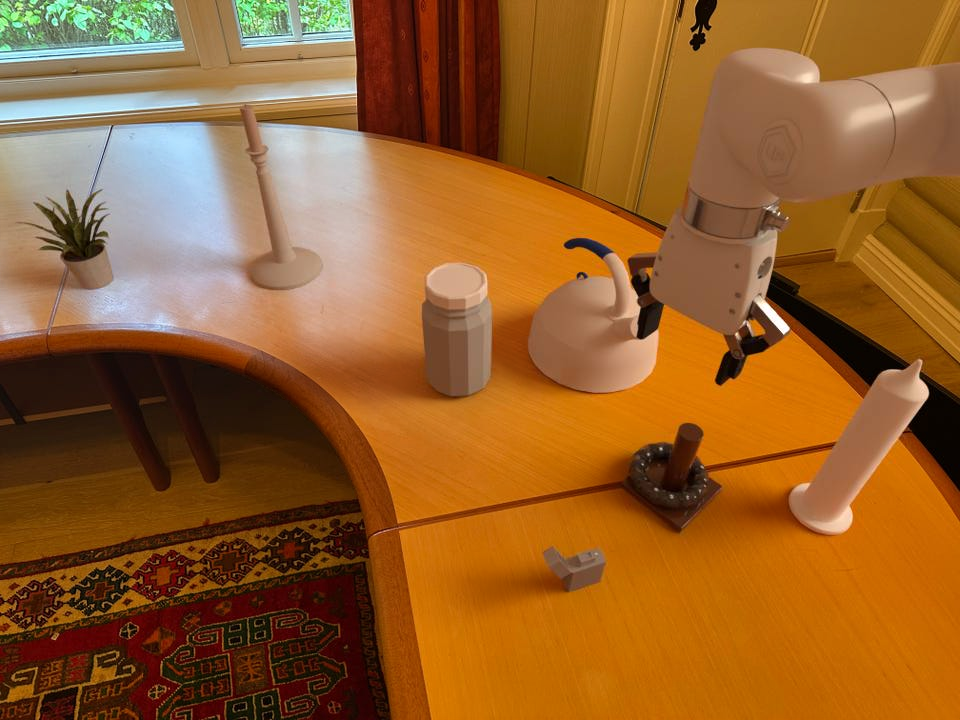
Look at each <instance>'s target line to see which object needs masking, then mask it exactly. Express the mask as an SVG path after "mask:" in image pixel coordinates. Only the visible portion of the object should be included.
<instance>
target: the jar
mask: <svg viewBox="0 0 960 720" xmlns="http://www.w3.org/2000/svg"><path fill="white" fill-rule="evenodd" d="M424 293H425V294H424V295H425V300H424V301H423V302H422V303H421V323H422V325H421V326H422V336H423V350H424V362H425V376H426V381H427V382H428V383H429V385H430V386H431V387H432V389H434V390H435V391H436V392H438V393H440V394H443V395H445V396H448V397H451V398H462V397H463V398H465V397H469V396H471V395H473V394H475V393H477V392H480V391H481V390H483V389H484V388H485V386H487V383H488V382H489V380H490V379H491V377H492V341H493V339H492V338H493V334H492V333H493V329H492V328H493V309H492V302H491V300H490V299H488V277H487V274H486V273H485V271H483V270H482V269H481V268H479V267H478V266H477V265H473V264H469V263H466V262H446V263H443V264H440V265H438V266H436V267H432V269H430V270H429V272H427V273H426V275H425V276H424Z"/></svg>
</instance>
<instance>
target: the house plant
mask: <svg viewBox="0 0 960 720" xmlns="http://www.w3.org/2000/svg"><path fill="white" fill-rule="evenodd" d="M103 190H104V188H102V189H99V190H97V191H94V192H93V193H92V194H90V195H89V196H88V197H87V199H86V200H85V201H84V204H83V207H82V208H81V209H82V210H81V215H80V216H79V215H78V211H79V208H77V207H76V202H75V200H74V199H73V196H72V195H71V192H70V190H69V189H68V188H67V189H66V191H65V199H66V205H67V209H68V213H67V212H66V211H65V209H64V208H63V207H62V206H61V205H60V204H59V203H58V202H56V201H55V200H53V199H52V198H50V197H48V196H45V199H47V200H48V201H49V202H48V201H47V203H49V204H50V205H52V206H53V208H52V209H49V208H48V207H47V206H46V207H45V206H44V205H42V204H41V203H38V202H34V201H32V202H33V205H35V207H36V208H37V209H39V211H40V212H41V213H42V214H43V215H44V216H45V217H46V218H47V219H48V221H49V222H50V223H51V226H52V228H53V229H54V231H53V230H52V229H48V228H46V227H43V226H41V225H38V224H35V223H31V222H25V221H18V222H16V224H23V225H26V226H32V227H35V228H37V229H40V230H42V231H45V232H47V233H49V234H50V235H52V236H53V237H56V238H57V239H60V240H61V241H63V242H61V241H59V240H57V239H56V240H55V239H52V238H48V237H45V236H44V237H43V236H35V239H38V240H41V241H43V242H44V243H47V244H48V245H43V246H41V247H40V248H38V249H37V251H57V252H61V253H60V255H59V256H60V257H59V258H60V260H61V262H62V263H63V264H64V265H65V266H66V268H67V269H68V270H69V271H70V273H71V274H72V275H73V277H74V278H75V279H76V280H77V281H78V283H79V284H80V286H82V288H84V289H86V290H97V289H101V288H104V287H107V286H109V285H110V284H112V282H114V279H115V277H114V273H113V270H112V266H111V262H110V258H109V255H108V251H107V247H106V244H107V245H108V243H107V242H106V240H105V239H103V238H107V239H110V238H109V232H107V231H105V230H102V231H100V232H98V231H99V228H100V226H101V224H102V223H103V222H104V219H105V218H106V217H107V216H109V215H110V214H111V213H110V212H109V213H107V214H105V215H103V216H101V217H100V218H99V219H95V216H96V214H97V213H98V212H100V211H105V210H106V211H107V210H109V208H106V207H101V206H102V205H104V204H106V203H107V202H108V201H103V202H101V203H99V204H97V205H96V206H95V208H94V209H93V210H92V212H91V214H90V215H89V216H90V217H89V218H88V221H87V224H86V220H87V219H86V218H87V213H88V211H89V208H90V205H91V204H92V201H93V200H94V198H95V197H96V196H97V195H98V194H99V193H101V192H102V191H103ZM55 209H57V211H58V212H59V214H61V216H62V217H63V219H64V221H65V223H64V221H62V219H61V218H60V217H59V216H58V215H57V214H56V213H55V212H56V211H55ZM94 225H95V226H94ZM93 226H94V229H93ZM92 229H93V230H92ZM92 231H93V233H92ZM96 238H97V239H96Z"/></svg>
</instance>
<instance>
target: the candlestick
mask: <svg viewBox="0 0 960 720" xmlns="http://www.w3.org/2000/svg"><path fill="white" fill-rule="evenodd" d="M239 112H240V116H241V119H242V123H243V127H244V130H245V135H246V138H247V142H248V147H247V148H245V150H244V152H245V153H246V154H247V155H249V156H250V161H251V163H253V164H254V166H255V167H256V171H255V175H256V177H257V183H258V187H259V192H260V197H261V203H262V207H263V211H264V212H263V213H264V216H265V221H266V225H267V230H268V231H267V232H268V236H269V240H270V246H271V250H270V251H268V252H266V253H264V254H263V255H261V256H259V258H258V259H257V260H255V262H254V263H253V264H252V265H251V268H250V275H251V279H252V281H253V282H254V283H255V284H256V285H257V286H259V287H262V288H264V289H267V290H274V291H285V290H291V289H297V288H299V287H302V286H305V285H307V284H310V283H311V282H313V281H314V280H315V279H316V278H317V277H319V276H320V274H321V272H322V270H323V269H324V268H323V266H324V264H323V259H322V257H321V256H320V255H319V254H318V253H316V252H315V251H313V250H311V249H308V248H305V247H300V246H293V245H292V243H291V239H290V236H289V233H288V229H287V226H286V223H285V220H284V217H283V213H282V210H281V206H280V203H279V200H278V197H277V194H276V191H275V187H274V184H273V180H272V177H271V174H270V169H268V167H267V161H268V159H269V157H268V155H267V152H268V151H269V149H270V148H269V146H267V145H265V144H263V142H262V138H261V133H260V130H259V125H258V122H257V116H256V113H255V110H254V106H253V105H252V104H246V103H244V105H240V106H239Z"/></svg>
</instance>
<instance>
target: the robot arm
mask: <svg viewBox="0 0 960 720" xmlns="http://www.w3.org/2000/svg"><path fill="white" fill-rule="evenodd" d="M820 77H821V74H820V69H819V67H818V65H817V64H816V62H815V61H814V60H813V59H811V58H810V57H808V56H805V55H803V54H801V53H798V52H795V51H791V50H786V49H780V48H773V47H772V48H771V47H749V48H744V49H739V50H735V51H732V52H731V53H728V54H727V55H726V56H725V57H723V59H721V61H719V63H718V65H717V67H716V69H715V71H714V75H713V77H712V81H711V86H710V90H709V93H708V98H707V101H706V102H707V103H706V106H705V110H704V115H703V119H702V123H701V127H700V132H699V135H698V140H697V142H696V148H695V152H694V155H693V156H694V157H693V161H692V166H691V168H690V174H689V177H688V181H687V185H686V189H685V193H684V198H683V201H682V202H683V203H682V204H681V205H680V206H678V207H677V208H676V209H675V211H674V213H673V215H672V217H671V219H670V221H669V223H668V225H667V227H666V230H665V231H664V234H663V236H662V239H661V241H660V244H659V247H658V250H657V251H656V252H642V253H641V252H640V253H635V254H633V255H631V256H629V257H628V258H627V261H626V262H627V266H628V270H629V275H630V276H631V279H630V285H631V287H633V288H632V289H633V290H635V292H636V294H637V296H638V297H639V298H638V299H637V304H638V305H639V306H640V307H641V308H640V313H639V317H638V322H637V325H638V326H639V327H638V331H637V336H636V337H637V338H638V339H640V340H643V339H645V338H646V337H648V336H649V335H651V334H652V333H653V332H655V331H656V330H657V329H658V330H659V327H660V323H661V320H662V319H661V318H662V316H663V311H664V307H665V306H666V307H668V308H670V309H672V310H674V311H675V312H678V313H679V314H681V315H683V316H685V317H687V318H688V319H691V320H692V321H695V322H697V323H698V324H700V325H702V326H704V327H706V328H708V329H710V330H712V331H714V332H716V333H719V334H722V336H723V338H724V340H725V342H726V345H727V348H728V350H727V351H726V352H725V353H724V354H723V356H722V358H721V361H720V364H719V367H718V370H717V372H716V374H715V378H714V382H715V384H716V385H717V386H719V387H721V386H723V385H724V384H726V382H728V381H729V380H730V379H732V380H736V379H737V378H738V377H739V376H740V375H741V374H742V371H743V369H744V365H745V363H746V361H747V358H748V357H749V356H751V355H757V354H761V353H764V352H765V351H767V350H768V349H770V348H772V347H774V346H775V345H776V344H778V343H780V342H781V341H783V340H784V339H785V338H786V337H787V336H788V335H789V334H790V333H791V328H790V326H789V325H788V324H787V323H786V322H785V321H784V320H783V319H782V317H780V316H779V314H778V313H777V312H776V311H775V310H774V308H772V306H770V304H769V303H768V301H766V296H767V292H768V290H769V285H770V281H771V277H772V274H773V273H772V272H773V270H774V263H775V258H776V252H777V245H778V232H780V233H783V232H784V231H786V229H787V228H788V226H789V224H790V221H791V217H790V216H788V215H785V214H783V212H782V211H780V209H781V208H780V206H781V204H782V200H783V201H787V202H789V203H797V204H804V203H805V204H807V203H813V202H819V201H822V200H827V199H830V198H834V197H838V196H843V195H846V194H850V193H853V192H855V191H860V190H863V189H868V188H872V187H875V186H878V185H884V184H887V183H891V182H896V181H900V180H905V179H913V178H931V177H932V178H938V177H939V178H960V61H958V62H950V63H949V62H948V63H941V64H934V65H932V64H931V65H924V66H918V67H917V66H916V67H910V68H909V67H908V68H904V69H897V70H890V71H884V72H883V71H882V72H877V73H872V74H867V75H860V76H855V77H850V78H845V79H840V80H829V81H821V78H820ZM647 269H652V270H651V274H650V275H649V273H648V272H647ZM750 321H752V322H754V321H756V322H757V323H758V324H759V325H760V326H761V327H762V329H763V330H764V333H762V334H758V335H756V334H755V331H754V329H753V327H752V324H751V322H750Z"/></svg>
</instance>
